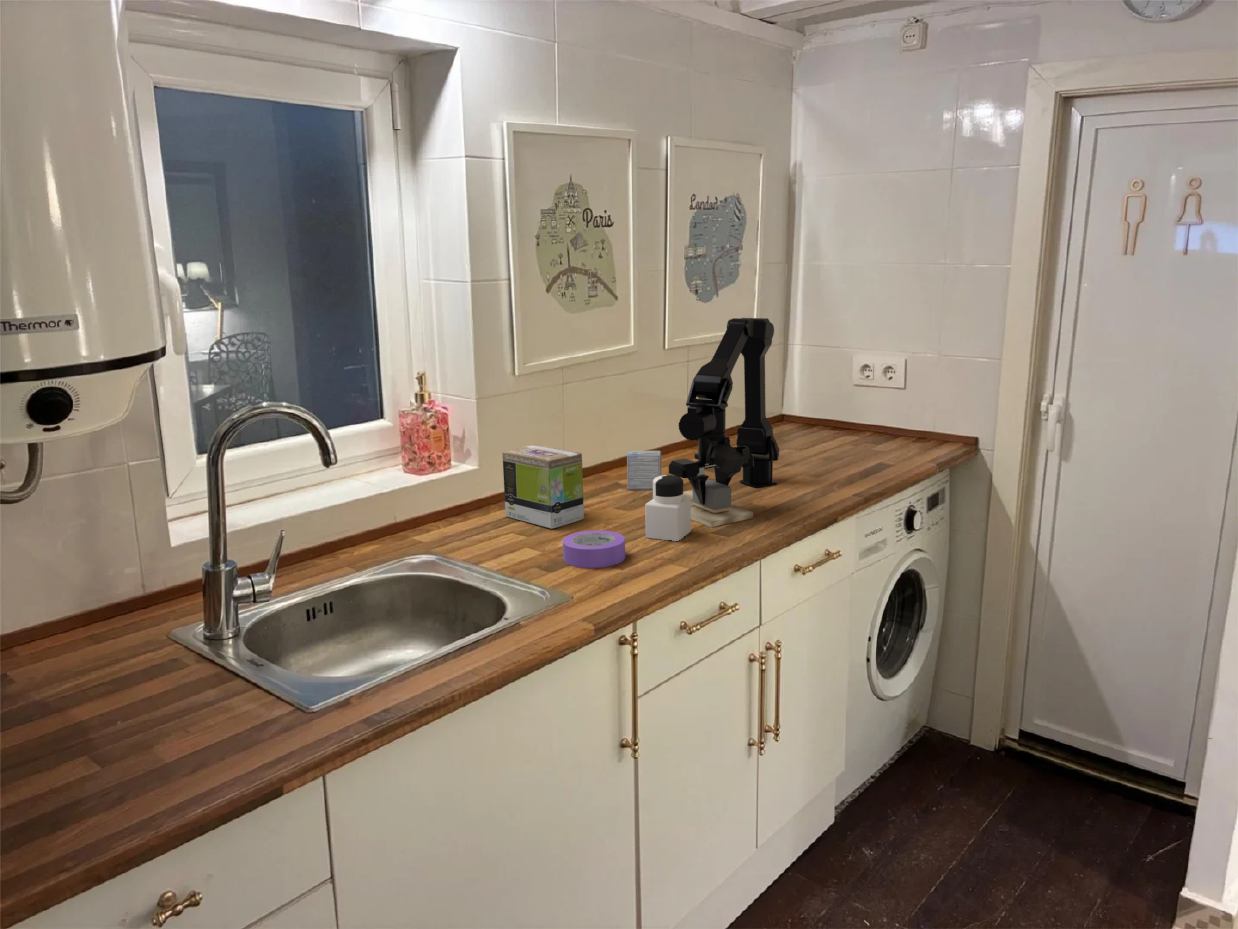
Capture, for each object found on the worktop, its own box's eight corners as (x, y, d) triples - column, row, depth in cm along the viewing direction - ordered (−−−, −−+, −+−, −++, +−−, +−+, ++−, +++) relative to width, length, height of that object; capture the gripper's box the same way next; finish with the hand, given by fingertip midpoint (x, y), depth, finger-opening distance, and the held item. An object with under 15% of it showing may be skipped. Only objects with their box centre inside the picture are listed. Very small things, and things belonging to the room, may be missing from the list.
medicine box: (661, 485, 226) (661, 450, 224) (660, 490, 222) (660, 454, 220) (629, 485, 227) (628, 450, 225) (627, 490, 223) (626, 454, 220)
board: (691, 495, 217) (691, 490, 217) (753, 518, 199) (753, 512, 198) (651, 503, 211) (651, 498, 211) (711, 527, 193) (711, 521, 193)
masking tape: (554, 553, 180) (553, 534, 179) (611, 545, 184) (610, 526, 183) (576, 573, 169) (575, 552, 168) (635, 563, 174) (635, 543, 173)
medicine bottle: (691, 531, 190) (691, 474, 188) (678, 542, 184) (678, 483, 181) (658, 528, 193) (658, 471, 191) (645, 538, 187) (644, 479, 184)
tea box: (585, 519, 200) (583, 451, 197) (551, 530, 193) (548, 460, 190) (538, 507, 210) (535, 442, 207) (503, 517, 203) (500, 450, 200)
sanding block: (709, 501, 206) (709, 479, 205) (731, 509, 200) (731, 487, 199) (692, 504, 204) (692, 482, 203) (714, 513, 198) (714, 490, 196)
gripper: (698, 443, 187) (698, 518, 190) (771, 432, 196) (769, 504, 200) (666, 434, 196) (667, 506, 200) (737, 423, 205) (736, 492, 209)
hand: (711, 502), depth 202 cm, fingers closed on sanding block, 4 cm apart
